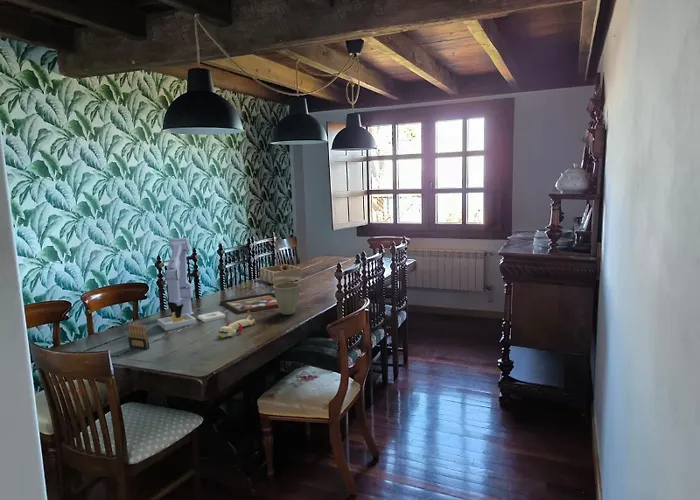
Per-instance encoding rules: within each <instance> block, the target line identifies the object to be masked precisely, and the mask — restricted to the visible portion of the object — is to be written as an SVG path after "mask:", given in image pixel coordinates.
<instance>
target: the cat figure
mask: <svg viewBox="0 0 700 500" xmlns="http://www.w3.org/2000/svg"><path fill="white" fill-rule="evenodd" d="M246 314H247V316H246V318H244V319H239V320H236V321H234V322H232V321H229V322H228V321H227V323H226V324H225V326H221V327H220V328H219V331H218V333H219V336H220V338H223V339H224V338H226V337H233V336H234V335H235V334H236V333H237V330H238V329H239V332H238V334H241V333H242V332H243V330H244V328H243V327H247V326H251V325H256V323H257V322H256V321H255V319H254V318H253V319H250V318H251V316H252V312H250V311H247V313H246ZM231 322H232V323H231Z"/></svg>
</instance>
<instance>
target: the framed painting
mask: <svg viewBox="0 0 700 500" xmlns="http://www.w3.org/2000/svg"><path fill="white" fill-rule="evenodd" d="M219 304H220V305H221V306H222V307H225V308H226V309H228V310H230V311H231V312H233V313H234V314H236V315H240V314H241V315H242V314H247V311H250V312H251V313H255V312H256V313H257V312H260V311H266V310H270V309H277V308H279V306H278V304H277V301H276V297H275V293H274V292H268V293H260V294H255V295H250V296H249V295H248V296H247V295H246V296H243V297H242V296H241V297H237V298H231V299H224V300H220V301H219Z"/></svg>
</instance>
